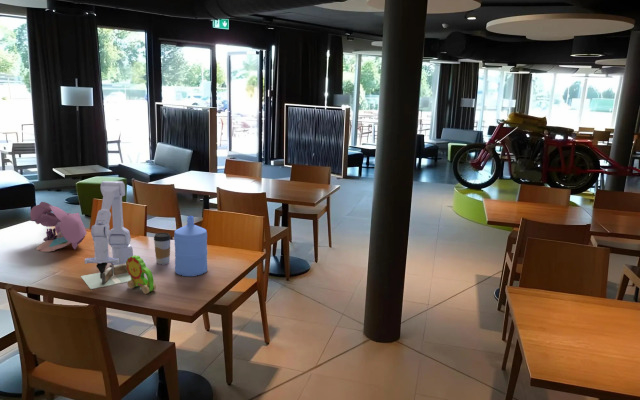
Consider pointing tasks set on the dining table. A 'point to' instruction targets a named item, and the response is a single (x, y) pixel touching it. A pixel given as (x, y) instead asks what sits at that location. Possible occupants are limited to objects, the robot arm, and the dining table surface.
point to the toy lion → (139, 274)
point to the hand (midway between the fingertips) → (103, 277)
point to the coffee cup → (162, 247)
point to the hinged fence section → (106, 275)
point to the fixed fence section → (119, 269)
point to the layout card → (96, 281)
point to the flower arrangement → (58, 227)
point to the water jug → (190, 249)
